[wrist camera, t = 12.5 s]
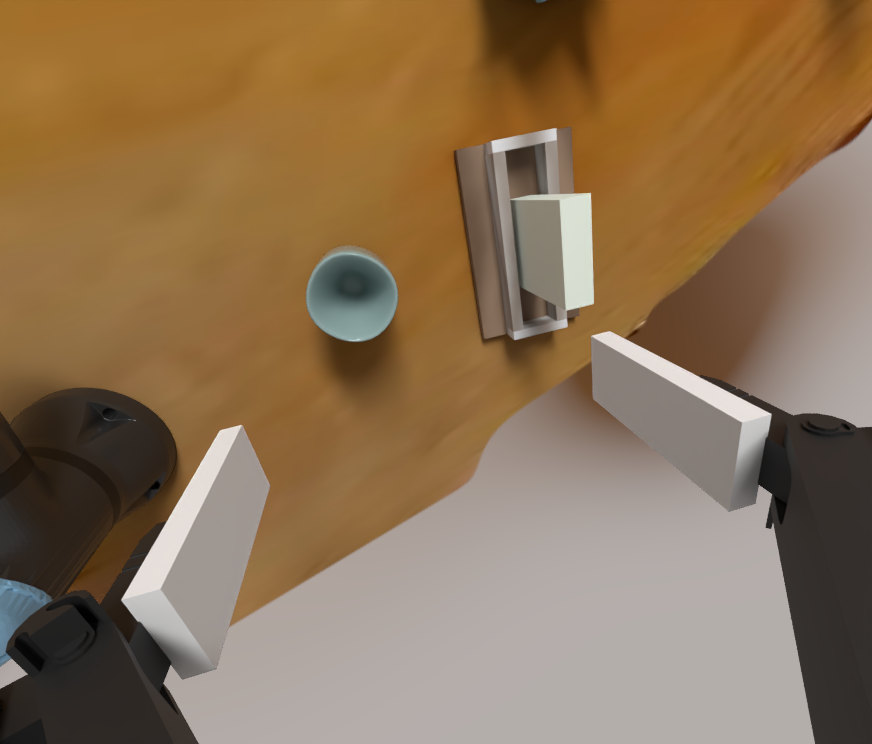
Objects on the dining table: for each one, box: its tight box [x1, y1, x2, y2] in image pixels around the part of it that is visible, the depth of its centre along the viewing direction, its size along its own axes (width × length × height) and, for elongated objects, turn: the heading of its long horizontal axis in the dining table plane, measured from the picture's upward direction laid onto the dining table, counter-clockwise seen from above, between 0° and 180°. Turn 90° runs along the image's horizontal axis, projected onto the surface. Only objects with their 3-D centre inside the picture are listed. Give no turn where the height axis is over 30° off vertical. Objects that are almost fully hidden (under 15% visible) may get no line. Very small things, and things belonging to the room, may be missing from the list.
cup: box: [306, 245, 398, 342], centre depth 39 cm, size 8×8×10 cm
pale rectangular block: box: [510, 193, 594, 311], centre depth 39 cm, size 3×9×12 cm, turn 11°
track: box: [454, 127, 579, 340], centre depth 44 cm, size 12×20×4 cm, turn 11°
